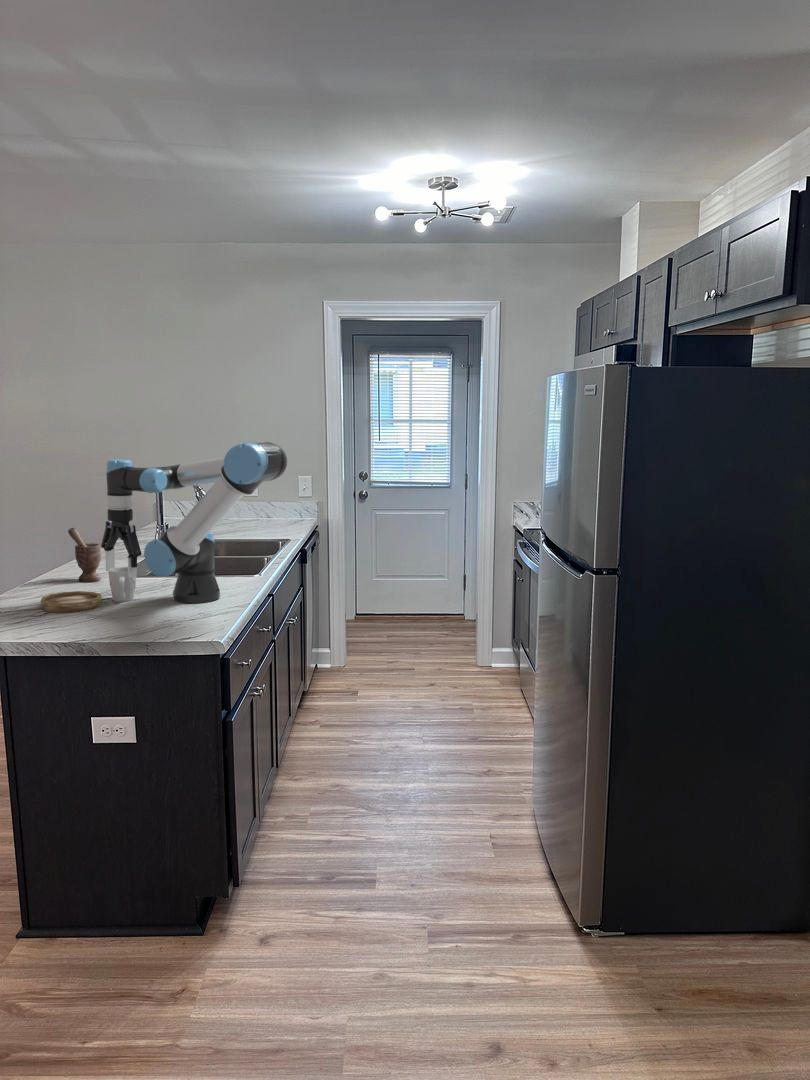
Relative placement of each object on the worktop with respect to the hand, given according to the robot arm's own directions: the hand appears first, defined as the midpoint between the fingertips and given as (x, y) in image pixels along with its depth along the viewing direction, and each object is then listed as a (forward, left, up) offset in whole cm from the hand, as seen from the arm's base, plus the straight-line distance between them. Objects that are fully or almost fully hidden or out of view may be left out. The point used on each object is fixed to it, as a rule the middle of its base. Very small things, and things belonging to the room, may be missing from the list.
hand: (121, 573), depth 246 cm
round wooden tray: (+4, +15, -9) cm, 18 cm away
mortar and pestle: (+35, -6, -9) cm, 36 cm away
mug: (0, 0, -9) cm, 9 cm away
